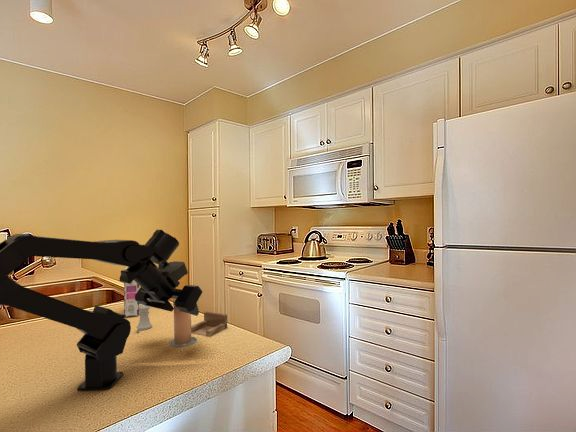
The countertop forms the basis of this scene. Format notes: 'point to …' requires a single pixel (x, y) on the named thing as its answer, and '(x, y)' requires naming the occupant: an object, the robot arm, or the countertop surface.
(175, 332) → the spice jar
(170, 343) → the slate coaster
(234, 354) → the countertop surface
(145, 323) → the rook chess piece
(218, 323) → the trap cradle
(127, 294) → the candy bar box
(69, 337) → the countertop surface
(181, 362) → the countertop surface
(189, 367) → the countertop surface
